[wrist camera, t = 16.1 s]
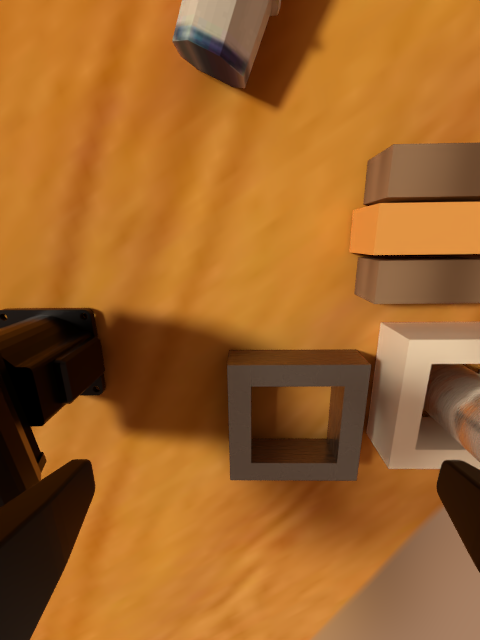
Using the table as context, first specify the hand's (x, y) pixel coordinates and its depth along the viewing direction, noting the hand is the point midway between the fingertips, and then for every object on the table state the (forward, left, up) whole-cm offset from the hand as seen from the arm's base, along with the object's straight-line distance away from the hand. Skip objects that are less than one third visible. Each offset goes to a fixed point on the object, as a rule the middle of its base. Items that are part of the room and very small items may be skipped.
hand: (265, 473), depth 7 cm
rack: (+13, -4, -13) cm, 19 cm away
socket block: (+3, -6, -13) cm, 15 cm away
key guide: (+11, +6, -13) cm, 18 cm away
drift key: (+10, +6, -13) cm, 17 cm away
